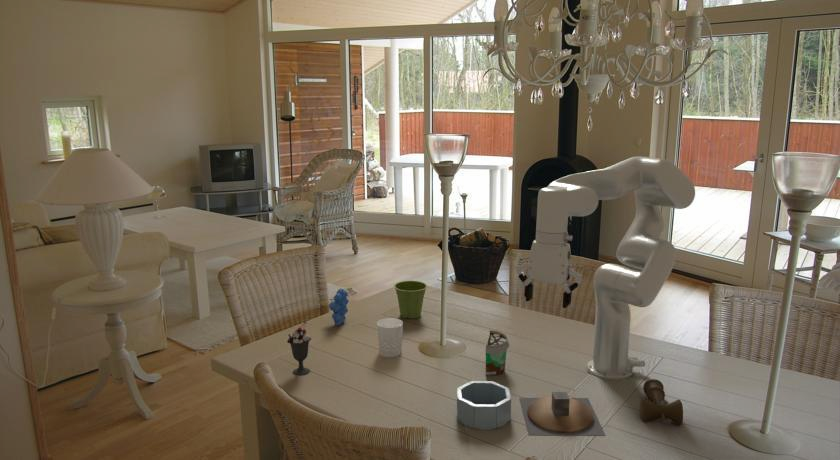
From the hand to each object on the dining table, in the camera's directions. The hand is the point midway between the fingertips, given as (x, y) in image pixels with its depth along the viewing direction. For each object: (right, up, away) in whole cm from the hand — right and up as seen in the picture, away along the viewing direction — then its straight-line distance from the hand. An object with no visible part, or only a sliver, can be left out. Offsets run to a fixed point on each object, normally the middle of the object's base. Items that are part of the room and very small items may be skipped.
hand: (547, 303), depth 161 cm
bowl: (-16, -28, -2) cm, 33 cm away
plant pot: (-35, -12, +66) cm, 76 cm away
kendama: (+28, -28, -1) cm, 39 cm away
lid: (+3, -28, -3) cm, 28 cm away
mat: (+3, -28, -3) cm, 28 cm away
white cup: (-41, -20, +35) cm, 58 cm away
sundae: (-67, -23, +24) cm, 74 cm away
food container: (-10, -22, +23) cm, 33 cm away
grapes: (-61, -14, +61) cm, 87 cm away
